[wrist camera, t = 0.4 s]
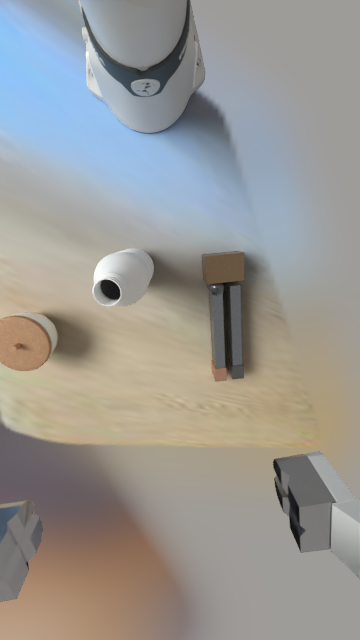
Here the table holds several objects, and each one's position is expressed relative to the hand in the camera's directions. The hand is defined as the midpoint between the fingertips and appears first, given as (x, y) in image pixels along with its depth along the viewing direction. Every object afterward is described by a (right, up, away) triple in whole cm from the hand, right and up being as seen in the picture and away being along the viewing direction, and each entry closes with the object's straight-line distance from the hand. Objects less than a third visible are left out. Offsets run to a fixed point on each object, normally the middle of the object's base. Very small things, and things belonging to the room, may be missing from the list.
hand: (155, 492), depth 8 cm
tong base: (+10, +7, +45) cm, 47 cm away
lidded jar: (-29, +4, +45) cm, 53 cm away
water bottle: (-8, +16, +42) cm, 45 cm away
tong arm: (+8, +4, +46) cm, 47 cm away
